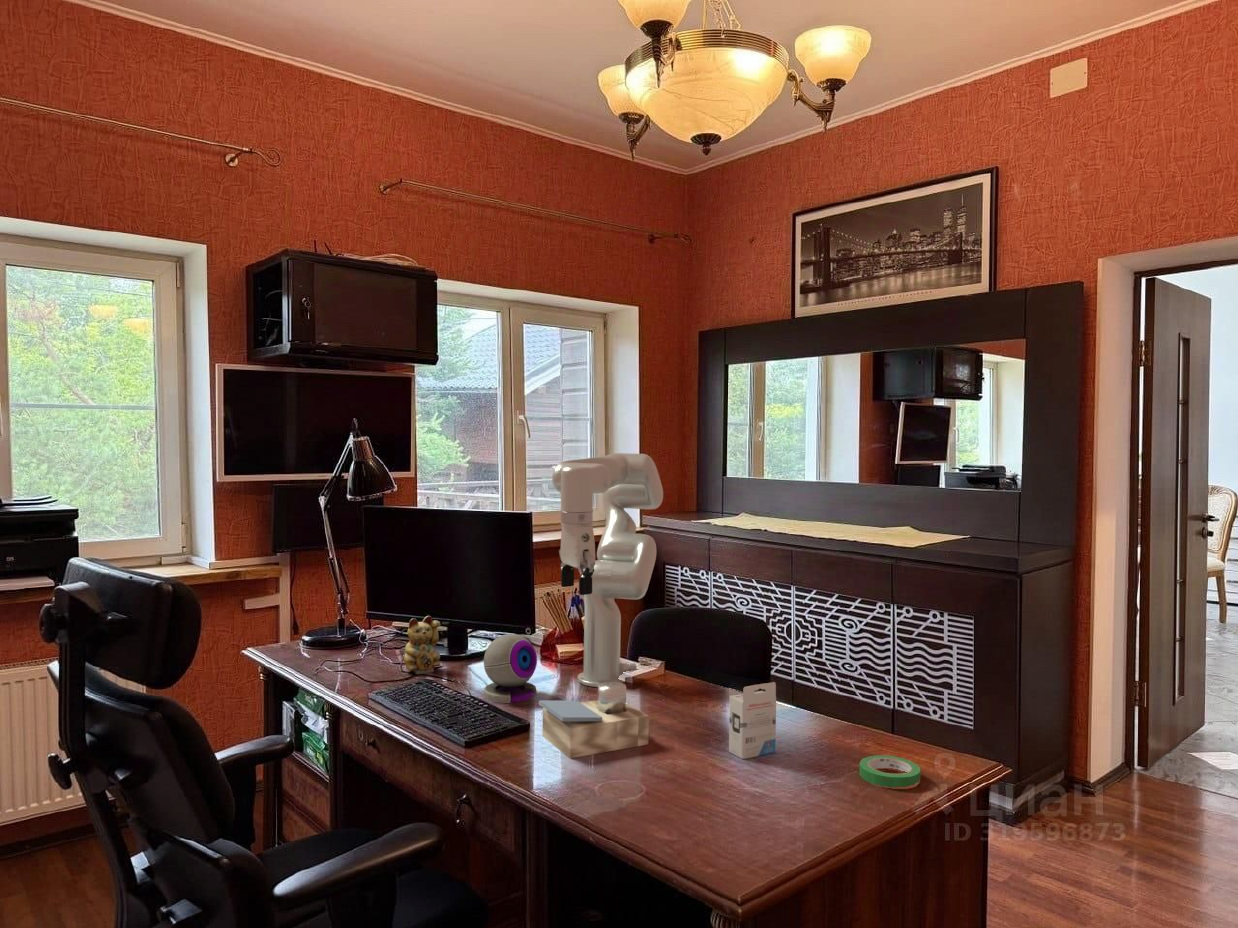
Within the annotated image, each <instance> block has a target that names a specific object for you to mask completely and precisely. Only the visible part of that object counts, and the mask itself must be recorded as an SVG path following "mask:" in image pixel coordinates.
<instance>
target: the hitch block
mask: <svg viewBox="0 0 1238 928" xmlns="http://www.w3.org/2000/svg"><path fill="white" fill-rule="evenodd" d="M580 703H581V704H583V705H584V706H586V707H587V708H589V709H590V710H592V711H593V712H595V713H596V714H598V715H599V716H601V717H602V721H561V720H560V719H558V718H557V717H555V716H554V715H553V714H551V713H550V712H549V711H547V710H546V709H545V708H543V707H542V729H541V731H542V732H541V733H542V737H543V738H544V739H546V740H547V741H548V742H549V743H551V744H552V745H553V746H555V748H556V749H557V750H559V751H560V752H561V753H563V754H564V755H565V756H567V757H568V758H569V759H575V758H580V757H587V756H590V755H596V754H601V753H606V752H612V751H619V750H624V749H630V748H636V747H641V746H646V745H649V733H650V732H649V726H650V725H649V724H650V719H649V718H650V717H649V715H648V714H646V713H644V712H643V711H641V710H639V709H638V708H636V707H634V706H633V705H631V704H630V703H628V702H626V710H625V711H624V712H622V713H618V714H605V713H602V712H600V711H598V699H596V700H589V701H583V702H580Z"/></svg>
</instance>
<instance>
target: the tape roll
mask: <svg viewBox="0 0 1238 928" xmlns="http://www.w3.org/2000/svg"><path fill="white" fill-rule="evenodd" d="M877 768H893V769H898V770H901V771H905V772H907V773H890V772H884V771H881V770H875V769H877ZM860 776H861V777H862V778H863V779H864V780H866V781H868V782H870V783H872V784H876V785H880V786H887V787H906V786H910V785H914V784H915V783H917V782H919V780H920V781H921V768H920V766H919V765H918V764H916V763H915V762H913V761H911V760H908V759H906V758H902V757H898V756H892V755H882V754H880V755H870V756H866V757H864V758H862V759H861V760H860V762H859V777H860ZM861 777H860V778H861ZM862 778H861V779H862ZM863 779H862V780H863ZM864 780H863V781H864ZM866 781H865V782H866ZM872 784H871V785H872Z"/></svg>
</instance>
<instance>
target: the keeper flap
mask: <svg viewBox="0 0 1238 928" xmlns="http://www.w3.org/2000/svg"><path fill="white" fill-rule="evenodd" d="M538 705H539V706H541V707H542V709H543V708H545V709H546V710H547V711H549V712H550V713H551V714H553V715H554V716H555V717H557V718H558V719H560V720H561V721H602V717H601V716H599V715H598V714H596V713H595V712H593V711H592V710H590V709H589V708H587V707H586V706H584V705H583V704H581V702H580V701H578V700H548V699H546V700H543V699H541V700H539V701H538Z"/></svg>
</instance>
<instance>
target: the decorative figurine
mask: <svg viewBox="0 0 1238 928" xmlns="http://www.w3.org/2000/svg"><path fill="white" fill-rule="evenodd" d="M440 626H441V621H438V619H437V620H435V619H434V620H433V618H432V616H430V615H427V616H425V617H424V618H423V620H422V621H418V619H416V618H411V619H410V620H409V623H408V629H407V636H408V638H409V641H408V642H407V643H406V644H405V646H404V651H405V654H404V656H403V662H404V665H405V668H406V669H408V670H410V671H413V673H414V674H416V675H421V674H422V675H423V674H428V673H434V672H435V669H434V668H436V667H440V666H441V662H440V661H439V660H440V659H441V654H440V651H438V650H437V649H435V648H434V646H436V645H437V644H438V642H439V637H440V636H439V631H438V628H440Z"/></svg>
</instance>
